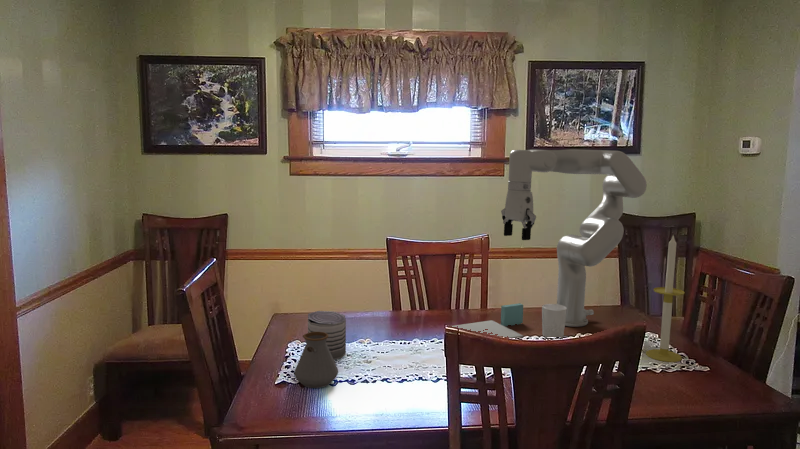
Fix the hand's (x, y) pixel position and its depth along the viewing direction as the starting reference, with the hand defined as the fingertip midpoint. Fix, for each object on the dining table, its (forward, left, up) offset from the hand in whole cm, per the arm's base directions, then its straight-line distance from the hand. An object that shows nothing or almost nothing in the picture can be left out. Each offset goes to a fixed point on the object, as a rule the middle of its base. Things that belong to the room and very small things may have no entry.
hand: (516, 237), depth 194 cm
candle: (-27, +40, -32) cm, 58 cm away
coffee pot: (+77, +21, -32) cm, 86 cm away
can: (+66, -2, -32) cm, 74 cm away
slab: (-3, -4, -32) cm, 32 cm away
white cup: (-8, +12, -32) cm, 35 cm away
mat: (+12, 0, -32) cm, 34 cm away
